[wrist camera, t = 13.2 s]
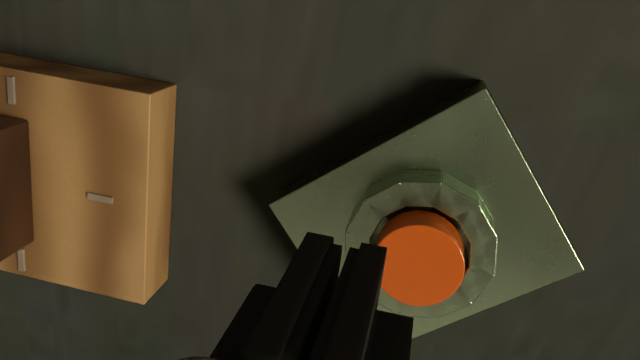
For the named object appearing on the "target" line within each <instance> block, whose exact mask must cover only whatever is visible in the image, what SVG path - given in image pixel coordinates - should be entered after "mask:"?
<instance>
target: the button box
mask: <svg viewBox="0 0 640 360" xmlns="http://www.w3.org/2000/svg"><path fill="white" fill-rule="evenodd" d="M269 207H270V208H271V210H272V211H273V213H274V214H275V216H276V217H277V219H278V220H279V222H280V224H281V225H282V227H283V228H284V230H285V231H286V233H287V234H288V236H289V237H290V239H291V240H292V242H293V243H294V245H295V247H296V248H297V250H298V248H299V246H300V244H301V242H302V240H303V239H304V237H305V235H306V233H307V232H312V233H317V234H322V235H327V236H332V237H334V244H337V245H342V255H341V262H340V269H339V275H340V272H341V270H342V267H343V264H344V261H345V259H346V256H347V253H348V251H349V248H350V247H352V248H357V249H359V248H360V245H361V242H362V243H367V244H372V245H376V243H377V239H378V236H379V233H380V232H381V230H382V228H383V227H384V225H385V224H386V223H387V222H388V221H389V220H391V219H392V218H393V217H395V216H397V215H399V214H401V213H404V212H408V211H414V210H422V211H429V212H433V213H436V214H438V215H440V216H442V217H444V218H445V219H447V220H448V221H449V222H450V223H452V225H453V226H454V227H455V228H456V229H457V231H458V232H459V234H460V236H461V239H462V242H463V248H464V259H465V273H464V277H463V280H462V282H461V285H460V286H459V288H458V289H457V290H456V291H455V293H454V294H453V295H451V296H450V297H449V298H447V299H446V300H444V301H442V302H440V303H437V304H434V305H430V306H412V305H408V304H404V303H402V302H399V301H397V300H395V299H394V298H392V297H391V296H389V295H388V294H387V293H386V292H385V291H384V290H383V289H382V288H381V289H380V295H379V301H378V306H377V310H381V311H385V312H390V313H394V314H399V315H404V316H408V317H413V318H414V321H413V331H412V339H413V338H416V337H418V336H421V335H423V334H426V333H428V332H431V331H433V330H436V329H439V328H441V327H444V326H446V325H449V324H451V323H454V322H456V321H459V320H461V319H464V318H466V317H469V316H471V315H474V314H476V313H479V312H481V311H484V310H486V309H489V308H491V307H494V306H496V305H499V304H501V303H504V302H506V301H509V300H511V299H514V298H516V297H519V296H521V295H524V294H526V293H529V292H531V291H534V290H537V289H539V288H542V287H544V286H547V285H549V284H552V283H554V282H557V281H559V280H562V279H564V278H567V277H569V276H572V275H574V274H577V273H579V272H582V271H584V270H585V269H584V267H583V265H582V263H581V261H580V259H579V257H578V255H577V253H576V251H575V249H574V247H573V245H572V243H571V241H570V240H569V238H568V236H567V234H566V232H565V230H564V228H563V227H562V225H561V223H560V221H559V219H558V217H557V216H556V214H555V212H554V210H553V208H552V206H551V204H550V203H549V201H548V199H547V197H546V195H545V193H544V191H543V190H542V188H541V186H540V184H539V182H538V180H537V179H536V177H535V175H534V173H533V171H532V169H531V167H530V166H529V164H528V162H527V160H526V158H525V156H524V155H523V153H522V151H521V149H520V147H519V145H518V143H517V142H516V140H515V138H514V136H513V134H512V132H511V131H510V129H509V127H508V125H507V123H506V121H505V119H504V118H503V116H502V114H501V112H500V110H499V108H498V106H497V105H496V103H495V101H494V99H493V97H492V95H491V94H490V92H489V90H488V88H487V86H486V84H485V82H484V81H483V80H481V81H480V82H478V83H476V84H474V85H472V86H470V87H469V88H467V89H465V90H463V91H461V92H459V93H458V94H456V95H454V96H452V97H450V98H448V99H447V100H445V101H443V102H441V103H439V104H437V105H436V106H434V107H432V108H430V109H428V110H426V111H425V112H423V113H421V114H419V115H417V116H415V117H414V118H412V119H410V120H408V121H406V122H404V123H403V124H401V125H399V126H397V127H395V128H393V129H392V130H390V131H388V132H386V133H384V134H382V135H381V136H379V137H377V138H375V139H373V140H371V141H370V142H368V143H366V144H364V145H362V146H360V147H359V148H357V149H355V150H353V151H351V152H349V153H348V154H346V155H344V156H342V157H340V158H338V159H337V160H335V161H333V162H331V163H329V164H327V165H326V166H324V167H322V168H320V169H318V170H316V171H315V172H313V173H311V174H309V175H307V176H305V177H304V178H302V179H300V180H298V181H296V182H295V183H293V184H291V185H289V186H287V187H285V188H284V189H282V190H280V191H279V192H278V194H277V195H276V196H275V198H274V199H273V200H272V201H271V203H270V204H269ZM338 278H339V277H338Z"/></svg>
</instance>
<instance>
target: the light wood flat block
mask: <svg viewBox="0 0 640 360" xmlns="http://www.w3.org/2000/svg"><path fill="white" fill-rule="evenodd" d="M176 87H177V85H176V84H172V83H167V82H161V81H156V80H150V79H145V78H139V77H134V76H128V75H123V74H117V73H112V72H106V71H101V70H95V69H90V68H84V67H79V66H73V65H68V64H62V63H57V62H51V61H46V60H40V59H35V58H29V57H24V56H19V55H13V54H8V53H2V52H0V115H3V116H8V117H13V118H18V119H23V120H27V121H28V122H29V144H30V165H31V187H32V208H33V230H34V241H33V242H31V243H30V244H28V245H26V246H25V247H23V248H22V249H20V250H19V251H17V252H15V253H14V254H12V255H11V256H9V257H7V258H6V259H4V260H3V261H1V262H0V270H3V271H7V272H11V273H16V274H20V275H24V276H28V277H32V278H36V279H40V280H44V281H48V282H53V283H57V284H61V285H65V286H69V287H73V288H77V289H81V290H86V291H90V292H94V293H98V294H102V295H106V296H110V297H114V298H118V299H123V300H127V301H131V302H135V303H139V304H145V303H146V302H147V301H148V300H149V299H150V298H151V297H152V296H153V294H154V293H155V292H156V291H157V290H158V289H159V288H160V287H161V286H162V285H163V284H164V283H165V281H166V280H167V279H168V263H169V241H170V219H171V197H172V175H173V153H174V131H175V109H176Z"/></svg>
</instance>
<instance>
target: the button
mask: <svg viewBox="0 0 640 360" xmlns="http://www.w3.org/2000/svg"><path fill="white" fill-rule="evenodd" d="M376 245H377V246H383V247H387V254H386V260H385V266H384V271H383V277H382V283H381V288H382V289H383V290H384V291H385V292H386V293H387V294H388V295H389V296H391V297H392V298H394V299H395V300H397V301H399V302H402V303H404V304H408V305H412V306H430V305H434V304H437V303H440V302H442V301H444V300H446V299H447V298H449V297H450V296H451V295H453V294H454V293H455V291H456V290H457V289H458V288H459V286H460V285H461V282H462V280H463V277H464V273H465V259H464V248H463V242H462V239H461V236H460V234H459V232H458V231H457V229H456V228H455V227H454V226H453V225H452V223H450V222H449V221H448V220H447V219H445V218H444V217H442V216H440V215H438V214H436V213H433V212H429V211H422V210H414V211H408V212H404V213H401V214H399V215H397V216H395V217H393V218H392V219H391V220H389V221H388V222H387V223H386V224H385V225H384V227H383V228H382V230H381V232H380V233H379V236H378V239H377V243H376Z"/></svg>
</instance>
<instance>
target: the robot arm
mask: <svg viewBox="0 0 640 360" xmlns="http://www.w3.org/2000/svg"><path fill="white" fill-rule="evenodd" d="M386 254H387V247H383V246H377V245H372V244H367V243H362V242H361V245H360V248H359V249H357V248H352V247H350V248H349V251H348V253H347V256H346V259H345V261H344V264H343V267H342V270H341V272H340V275H339V269H340V262H341V255H342V245H337V244H334V237H332V236H327V235H322V234H317V233H312V232H307V233H306V235H305V237H304V239H303V240H302V242H301V244H300V246H299V248H298V250H297V251H296V253H295V255H294V257H293V259H292V261H291V262H290V264H289V266H288V268H287V270H286V271H285V273H284V275H283V277H282V279H281V281H280V282H279V284H278V286H277V288H275V287H270V286H265V285H261V284H256V285H255V286H254V287H253V288H252V290H251V291H250V293H249V294H248V296H247V298H246V299H245V301H244V303H243V304H242V306H241V307H240V309H239V311H238V312H237V314H236V315H235V317H234V319H233V320H232V322H231V323H230V325H229V327H228V328H227V330H226V331H225V333H224V335H223V336H222V338H221V339H220V341H219V343H218V344H217V346H216V348H215V349H214V351H213V352H212V354H211V356H210V357H188V358H183V359H178V360H409V359H410V349H411V340H412V331H413V321H414V318H413V317H408V316H404V315H399V314H394V313H390V312H385V311H381V310H377V306H378V301H379V295H380V289H381V283H382V277H383V271H384V266H385V260H386ZM338 277H339V278H338Z"/></svg>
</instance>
